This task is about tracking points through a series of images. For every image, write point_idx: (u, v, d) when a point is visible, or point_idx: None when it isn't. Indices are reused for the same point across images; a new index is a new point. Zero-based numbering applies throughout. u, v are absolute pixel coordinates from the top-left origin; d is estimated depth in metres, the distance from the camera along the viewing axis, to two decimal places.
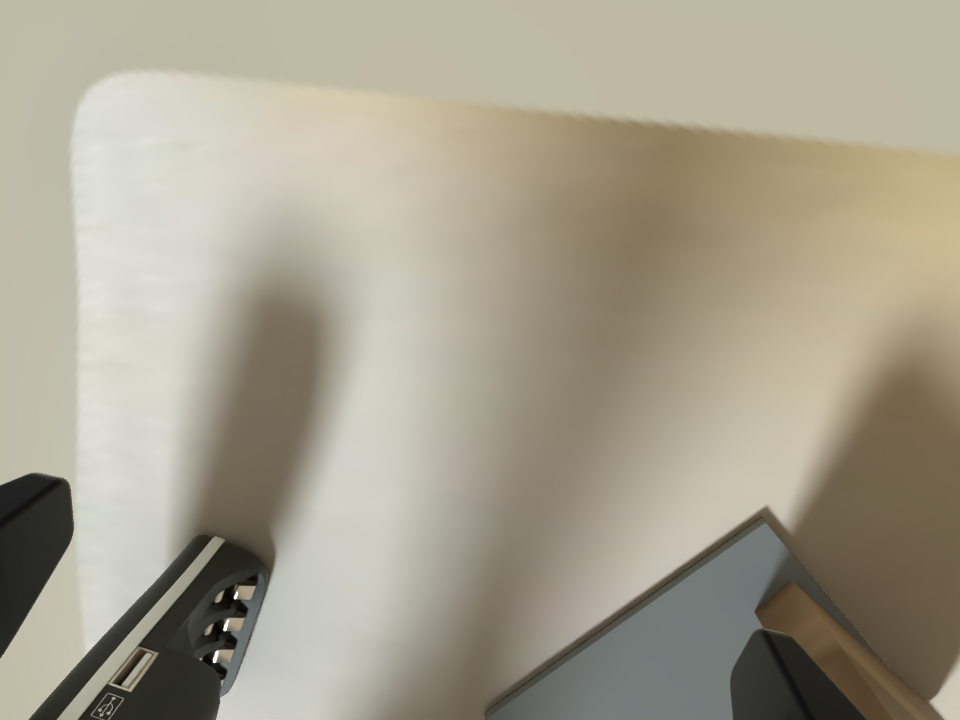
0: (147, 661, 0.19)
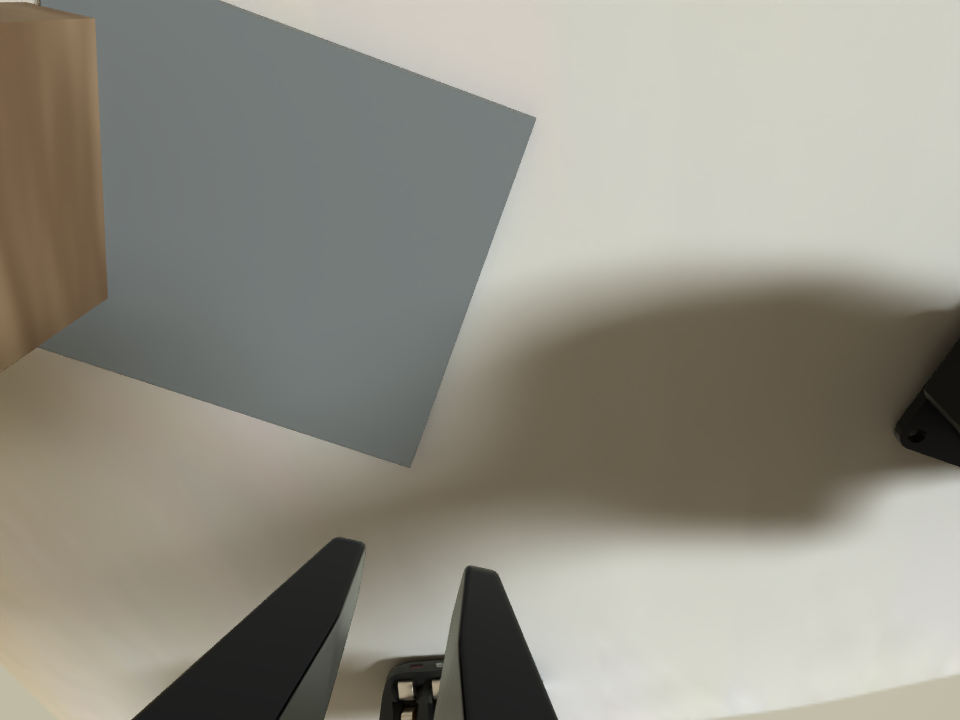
0: None
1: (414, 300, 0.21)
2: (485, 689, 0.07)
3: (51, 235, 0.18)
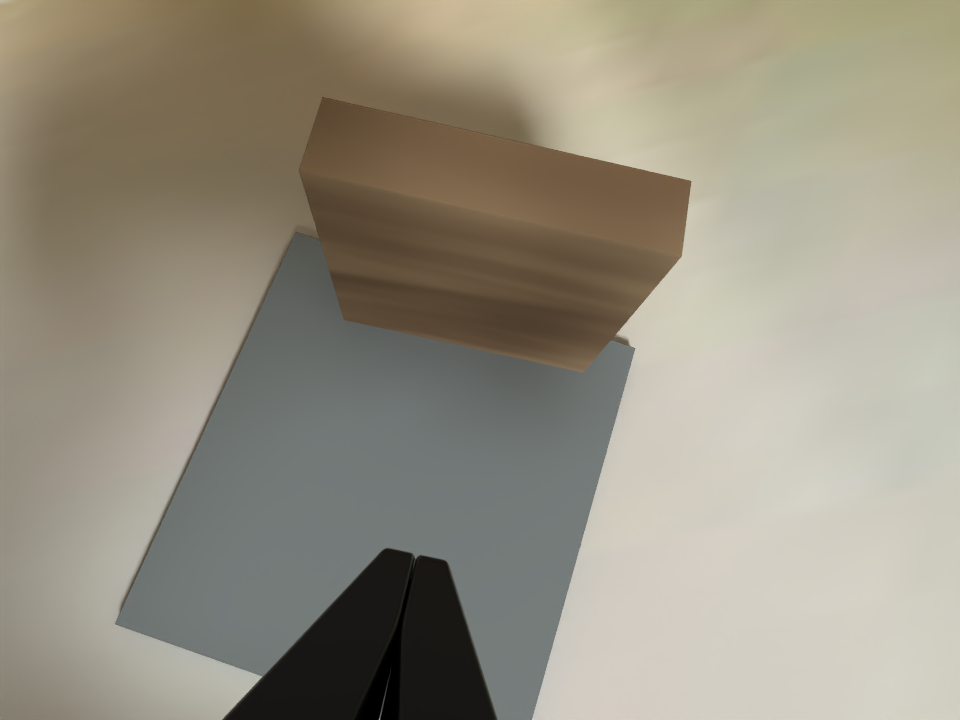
0: None
1: None
2: (422, 676, 0.07)
3: (431, 312, 0.21)
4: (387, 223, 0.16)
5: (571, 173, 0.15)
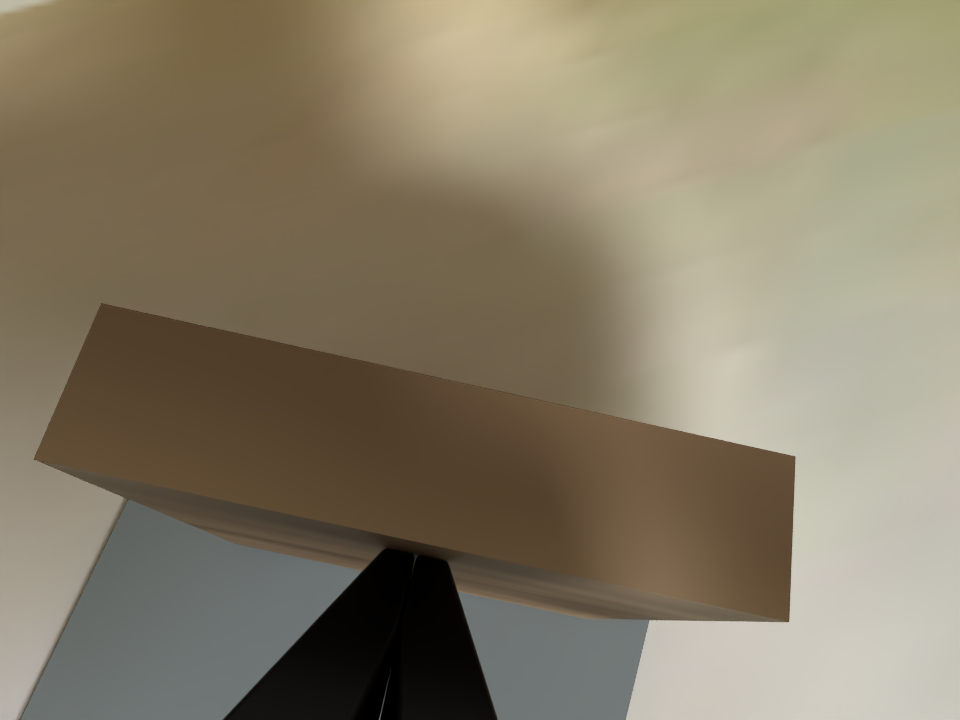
0: None
1: None
2: (422, 676, 0.07)
3: (352, 562, 0.13)
4: (236, 515, 0.09)
5: (571, 448, 0.08)
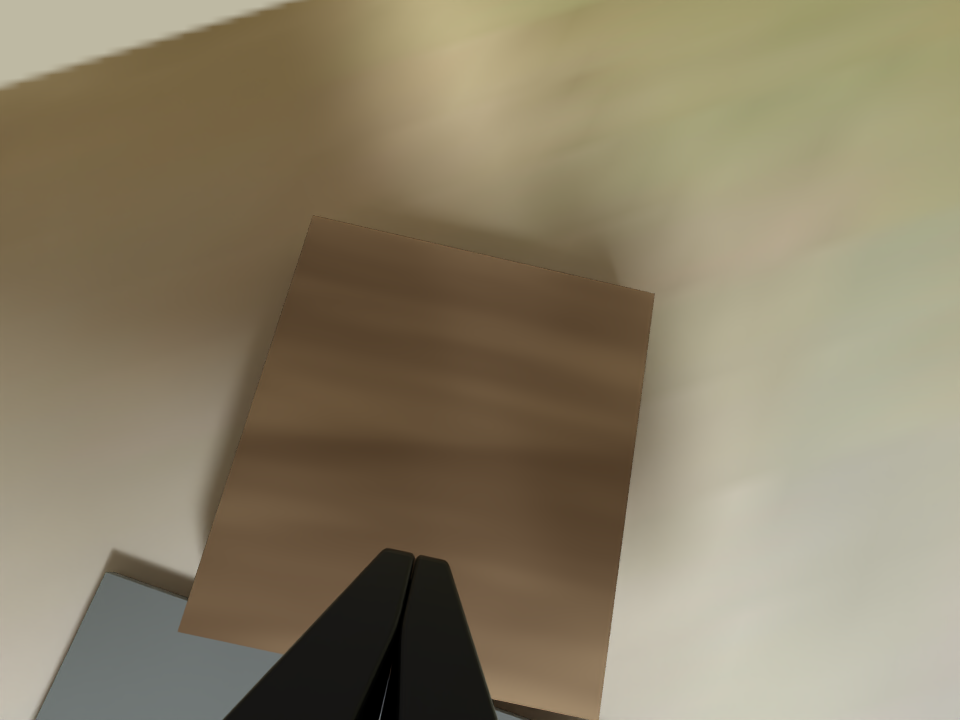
0: None
1: None
2: (422, 676, 0.07)
3: (362, 531, 0.14)
4: (372, 291, 0.16)
5: None
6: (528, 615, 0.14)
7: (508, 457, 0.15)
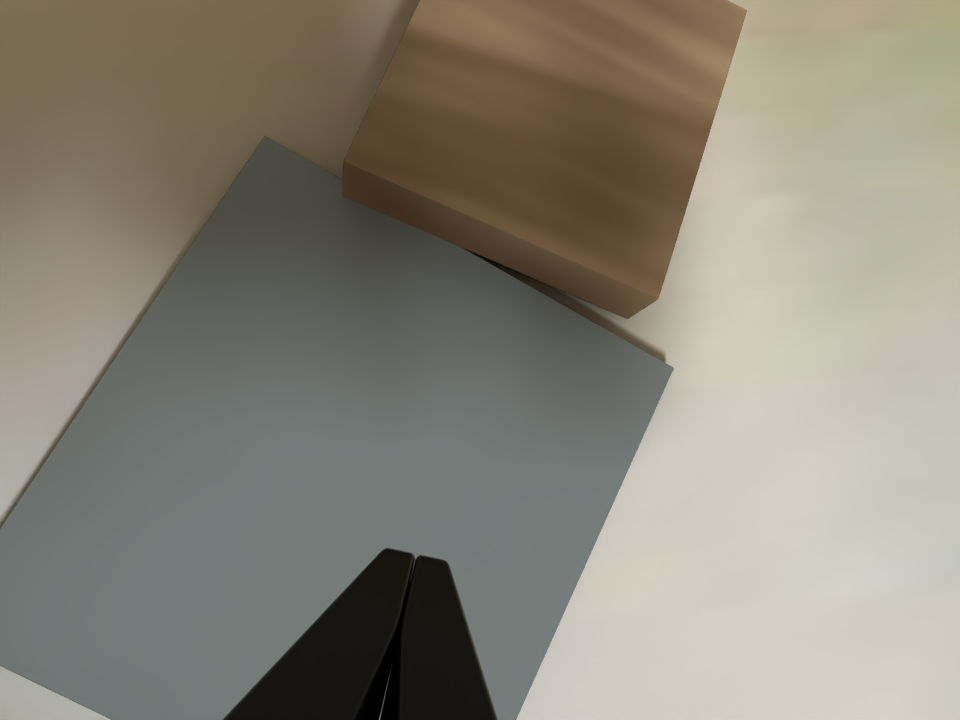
0: None
1: (234, 687, 0.15)
2: (422, 675, 0.07)
3: (494, 125, 0.17)
4: None
5: None
6: (616, 215, 0.17)
7: (615, 101, 0.18)
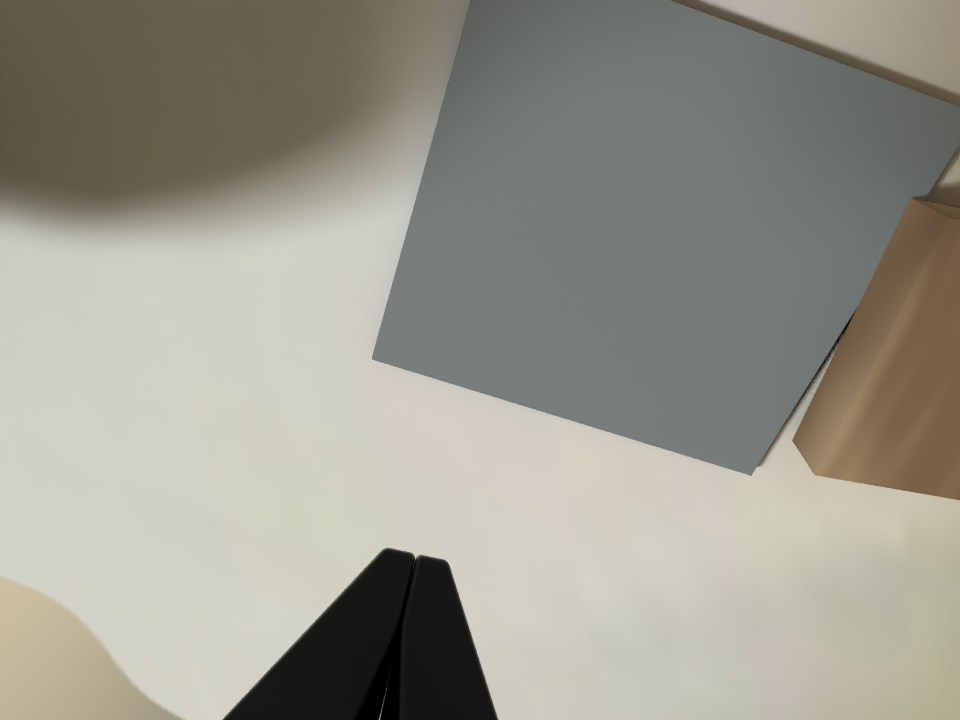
0: None
1: (477, 193, 0.19)
2: (422, 676, 0.07)
3: None
4: None
5: None
6: (889, 439, 0.20)
7: None
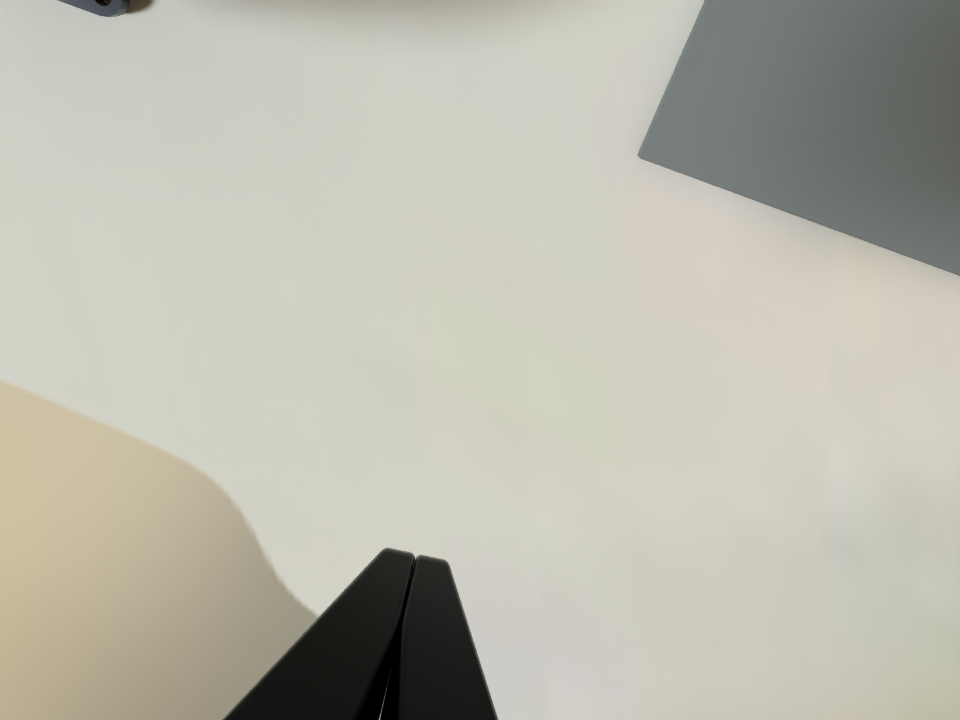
0: None
1: None
2: (422, 676, 0.07)
3: None
4: None
5: None
6: None
7: None
